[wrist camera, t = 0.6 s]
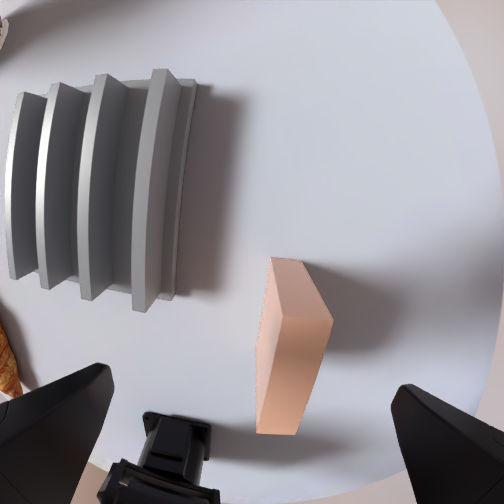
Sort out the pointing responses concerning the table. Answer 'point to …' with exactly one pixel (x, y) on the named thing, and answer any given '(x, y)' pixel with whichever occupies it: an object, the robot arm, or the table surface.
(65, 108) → the dish rack
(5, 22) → the black-white patterned cylinder
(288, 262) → the terracotta plate
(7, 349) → the croissant
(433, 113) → the table surface
